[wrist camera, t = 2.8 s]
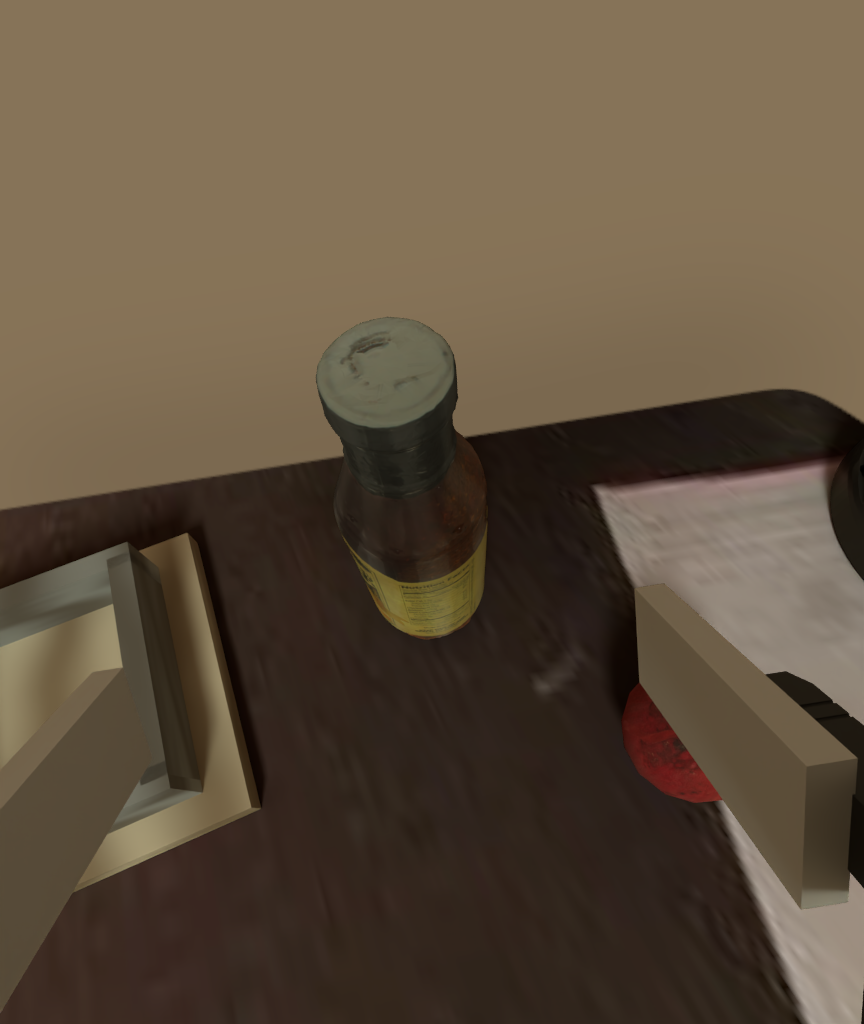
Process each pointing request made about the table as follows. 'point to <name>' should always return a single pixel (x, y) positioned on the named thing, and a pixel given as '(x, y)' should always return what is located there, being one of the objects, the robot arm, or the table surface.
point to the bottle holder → (134, 686)
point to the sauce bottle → (406, 474)
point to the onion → (662, 751)
